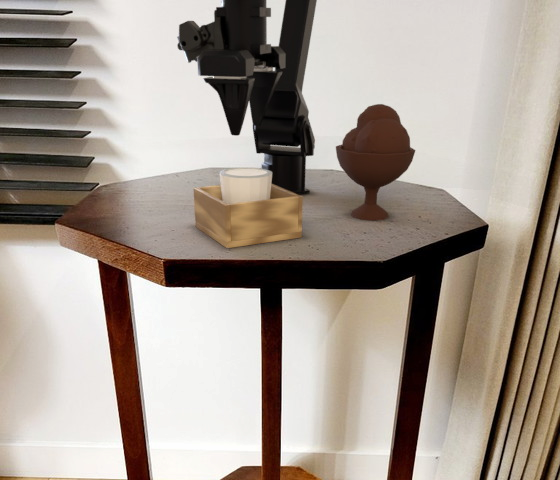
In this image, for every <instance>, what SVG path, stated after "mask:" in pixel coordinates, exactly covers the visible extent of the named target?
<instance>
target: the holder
mask: <svg viewBox="0 0 560 480" xmlns="http://www.w3.org/2000/svg"><path fill="white" fill-rule="evenodd" d="M192 189H193V204H194V206H193V207H194V221H195V223H194V224H195V228H197V230H200V231H201V232H202V233H204V234H206V235H207V236H208V237H210V238H211V239H213V240H214V241H215V242H217V243H218V244H220V245H222V246H223V247H225V248H226V249H231V248H239V247H245V246H254V245H259V244H266V243H267V244H268V243H273V242H280V241H288V240H294V239H300V238H301V239H302V237H303V209H304V208H303V206H304V203H303V202H304V196H303V195H301V194H295V193H293V192H291V191H288V190H286V189H283V188H281V187H279V186H276V185H274V184H272V183H271V193H270V199H267V200H258V201H249V202H240V203H232V204H227V203H225V202H224V201H223V200H222V192H221V184H217V185H207V186H206V185H205V186H198V187H197V186H196V187H193V188H192Z"/></svg>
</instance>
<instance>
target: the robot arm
mask: <svg viewBox="0 0 560 480" xmlns="http://www.w3.org/2000/svg"><path fill="white" fill-rule="evenodd" d="M317 1H318V0H285V3H284V9H283V15H282V20H281V21H282V22H281V28H280V33H279V34H280V35H279V39H278V40H279V41H278V45H272V44H271V43H267V41H268V37H267V36H268V35H267V33H268V32H267V25H268V24H267V22H268V21H267V18H272V7H267V0H220V3H221V5H220V6H216V8H215V9H214V12H213V17H214V21H212V22H210V23H207V24H202V25H200V26H199V25H198V23H197V22H195V21H194V20H187V21H185V22H182V23H180V24H178V36H177V37H176V38H177V41H178V43H177V45H176V46H177V49H178V50H179V51H183V53H184V55H185V58H186V61H187V63H188V64H190V63H192V62H193V61H195V63H197V76H200V77H204V78H202V79H203V82H204V83H206V84H208V85H209V86H210V87H211V88H212V89H214V90H215V92H216V93H217V95H218V97H219V101H220V103H221V106H222V110H223V112H224V116H225V119H226V123H227V125H228V129H229V132H230V135H231V136H235V137H238V136H240V135H241V132H242V128H243V125H244V121H245V117H246V115H247V110H248V107H249V108H250V115H251V121H252V132H253V140H254V145H255V153H256V154H258V155H259V154H263V162H262V163H261V169H265V170H269V171H271V172H272V182H271V183H272V184H274V185H276V186H279V187H281V188H283V189H286V190H288V191H291V192H293V193H295V194H298V195H304V194H310V192H311V190H310V189H309V188H306V169H307V157H312V156H314V154H315V148H316V147H315V145H316V139H315V136H314V135H315V134H314V131H313V128H312V125H311V122H310V118H309V114H310V113H309V112H310V111H309V108H308V105H307V103H306V100H305V97H304V95H303V87H304V81H305V76H306V68H307V62H308V57H309V51H310V45H311V38H312V33H313V32H312V31H313V27H314V19H315V14H316V7H317Z"/></svg>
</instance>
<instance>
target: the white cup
mask: <svg viewBox="0 0 560 480" xmlns="http://www.w3.org/2000/svg"><path fill="white" fill-rule="evenodd" d="M218 174H219V183H220V184H219V185H221V192H222V200H223V201H224V202H225V203H227V204H232V203H240V202H249V201H258V200H267V199H270V193H271V182H272V172H271V171H269V170H265V169H262V168H259V167H232V168H225V169H223V170H220V171H219V173H218Z"/></svg>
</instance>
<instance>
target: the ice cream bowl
mask: <svg viewBox="0 0 560 480" xmlns="http://www.w3.org/2000/svg"><path fill="white" fill-rule="evenodd" d="M335 152H336V159H337V161H338V163H339V166H340V168H341V169H342V170H343V172H344V173H345V174H346V175H347V177H349V179H351V181H353V182H354V183H355V184H357V185H359V186H361V187H363V189H364V192H365V193H364V203H362V204H361V205H359V206H357V207H355V208H354V209H352V210H351V213H350V215H351V217H352V218H355V219H358V220H362V221H383V220H386V219H387V218H389V213H388V211H386V209H384V208H383V207H381V206H380V205H379V204H378V203H377V202H378V193H379V190H380V189H381V188H383V187H385V186H387V185H389V184H391V183H393V182H395V181H396V180H398V179H399V178H400V177H402V175H404V173H405V172H407V171H408V170H409V168H410V166H411V164H412V163H413V160H414V156H415V153H416V149H414V148H413V147H411V138H410V135H409V133H408V130H407V129H406V128H405V127H404V125H403V124H402V121H401V118H400V115H399V114H398V111H396V110H395V109H394V108H393V107H391V106H389V105H386V104H383V103H377V104H372V105H368V106H367V107H366V108H365V109H364V110H363V111H362V112H361V113H360V114H359V115H358V117H357V119H356V127H354V128H351V130H349V131H348V132H347V133H346V134H345V135H344V138H343V139H342V144H339V145H336V146H335Z"/></svg>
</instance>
